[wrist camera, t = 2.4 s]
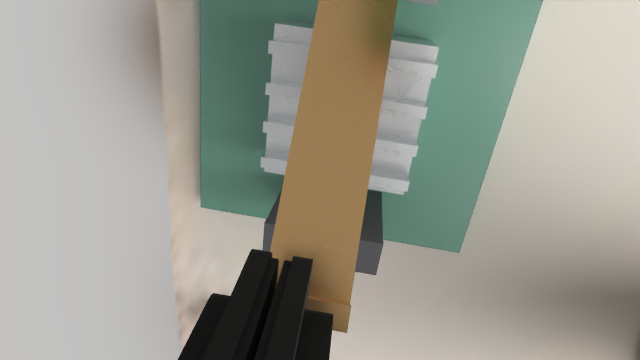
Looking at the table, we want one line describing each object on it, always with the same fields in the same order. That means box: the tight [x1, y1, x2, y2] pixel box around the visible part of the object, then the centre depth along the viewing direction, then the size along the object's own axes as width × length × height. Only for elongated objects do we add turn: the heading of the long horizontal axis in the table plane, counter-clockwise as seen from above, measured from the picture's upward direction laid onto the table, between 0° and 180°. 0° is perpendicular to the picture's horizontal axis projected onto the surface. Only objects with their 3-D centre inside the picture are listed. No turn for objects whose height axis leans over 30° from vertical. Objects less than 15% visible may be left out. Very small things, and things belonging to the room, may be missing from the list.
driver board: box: [200, 0, 543, 275], centre depth 22 cm, size 18×18×7 cm
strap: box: [270, 0, 398, 333], centre depth 15 cm, size 3×14×2 cm
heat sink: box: [260, 0, 439, 195], centre depth 20 cm, size 8×12×6 cm, turn 172°
